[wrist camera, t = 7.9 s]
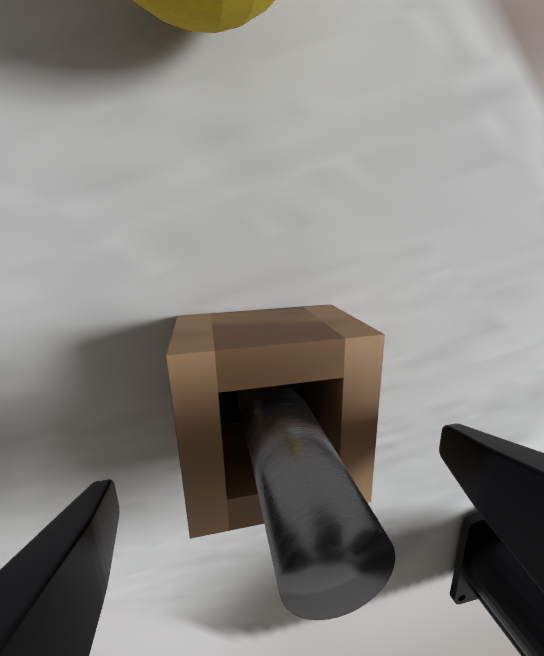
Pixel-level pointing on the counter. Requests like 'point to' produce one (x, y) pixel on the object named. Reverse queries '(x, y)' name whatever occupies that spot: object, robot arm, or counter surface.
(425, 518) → the counter surface
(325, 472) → the peg
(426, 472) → the counter surface
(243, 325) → the block with square hole
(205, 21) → the lemon
